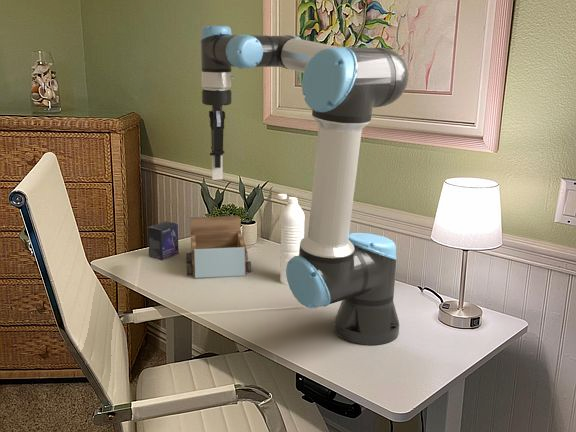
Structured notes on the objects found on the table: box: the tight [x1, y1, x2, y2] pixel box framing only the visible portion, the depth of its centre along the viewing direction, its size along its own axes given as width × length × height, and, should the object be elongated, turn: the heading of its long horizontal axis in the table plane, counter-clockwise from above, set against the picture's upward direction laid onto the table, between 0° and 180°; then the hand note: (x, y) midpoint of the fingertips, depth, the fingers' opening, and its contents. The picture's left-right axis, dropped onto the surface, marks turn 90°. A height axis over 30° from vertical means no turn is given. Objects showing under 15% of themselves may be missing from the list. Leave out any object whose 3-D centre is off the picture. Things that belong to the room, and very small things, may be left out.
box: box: [147, 221, 180, 261], centre depth 192 cm, size 8×6×11 cm
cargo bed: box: [185, 215, 252, 278], centre depth 184 cm, size 19×18×13 cm
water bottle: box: [277, 193, 306, 286], centre depth 171 cm, size 9×6×25 cm
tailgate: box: [193, 247, 247, 280], centre depth 175 cm, size 1×14×9 cm, turn 100°
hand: (217, 178), depth 165 cm, fingers closed
